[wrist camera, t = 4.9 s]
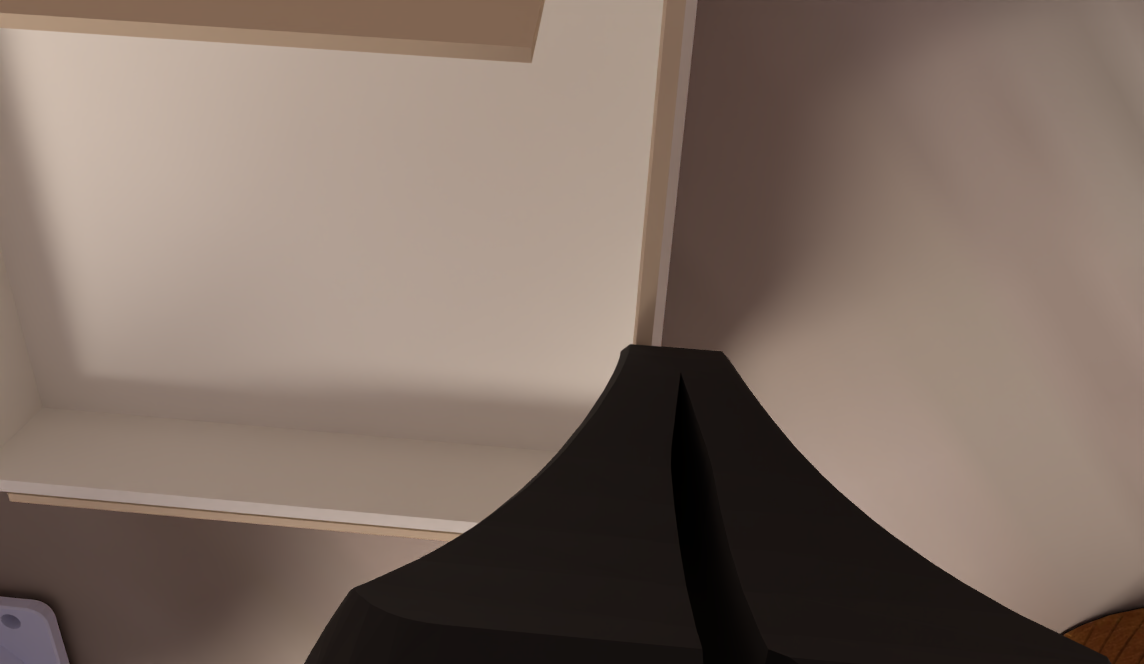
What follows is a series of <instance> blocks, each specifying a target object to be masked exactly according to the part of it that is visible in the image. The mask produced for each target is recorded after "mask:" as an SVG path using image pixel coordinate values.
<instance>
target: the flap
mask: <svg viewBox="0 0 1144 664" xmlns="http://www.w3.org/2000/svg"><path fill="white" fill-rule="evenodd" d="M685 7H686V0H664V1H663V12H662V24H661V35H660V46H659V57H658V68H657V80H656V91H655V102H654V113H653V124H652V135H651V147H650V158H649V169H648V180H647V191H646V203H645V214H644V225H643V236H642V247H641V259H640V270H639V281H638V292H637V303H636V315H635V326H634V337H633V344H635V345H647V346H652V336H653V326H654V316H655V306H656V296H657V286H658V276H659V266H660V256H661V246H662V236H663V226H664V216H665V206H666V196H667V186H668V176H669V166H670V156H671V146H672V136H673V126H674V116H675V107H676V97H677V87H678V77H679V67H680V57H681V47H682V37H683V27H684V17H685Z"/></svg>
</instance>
